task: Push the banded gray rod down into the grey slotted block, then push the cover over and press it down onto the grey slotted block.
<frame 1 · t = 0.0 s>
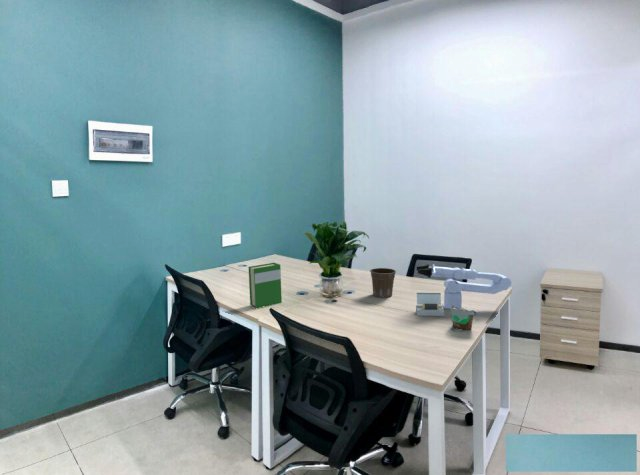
hand: (417, 269, 236), 22 cm above the table, tool horizontal, fingers open, 7 cm apart
plant pot: (382, 295, 263), on the table
grey slotted block: (429, 313, 227), on the table
cover: (428, 298, 230), point 7 cm above the table, hinge at 105.0°
food container: (459, 328, 204), on the table
banded gray rod: (430, 306, 222), point 5 cm above the table, touching grey slotted block
hardback book: (266, 304, 250), on the table
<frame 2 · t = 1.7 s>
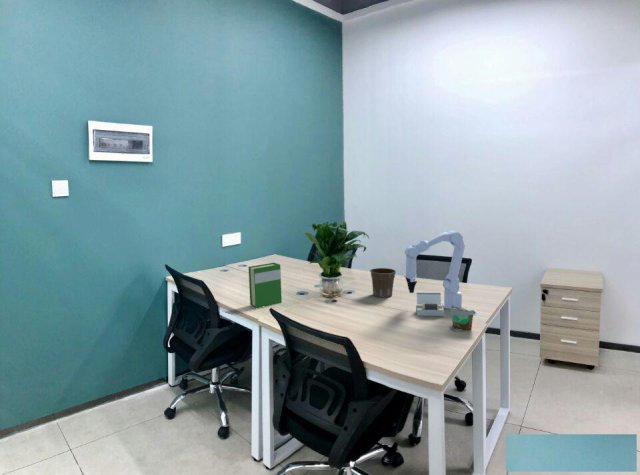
hand: (410, 291, 234), 10 cm above the table, tool pointing down, fingers open, 6 cm apart
nothing on the table moved.
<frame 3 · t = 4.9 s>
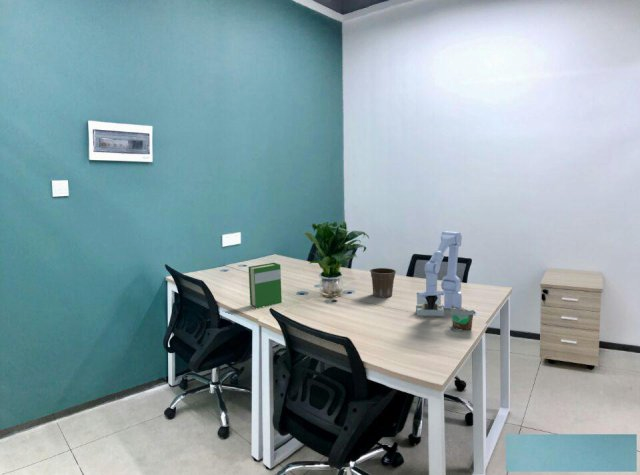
hand: (431, 309, 220), 4 cm above the table, tool pointing down, fingers closed, pressing on banded gray rod
banded gray rod: (430, 306, 223), point 5 cm above the table, tilted 16°, touching grey slotted block, gripper
everything else where it was.
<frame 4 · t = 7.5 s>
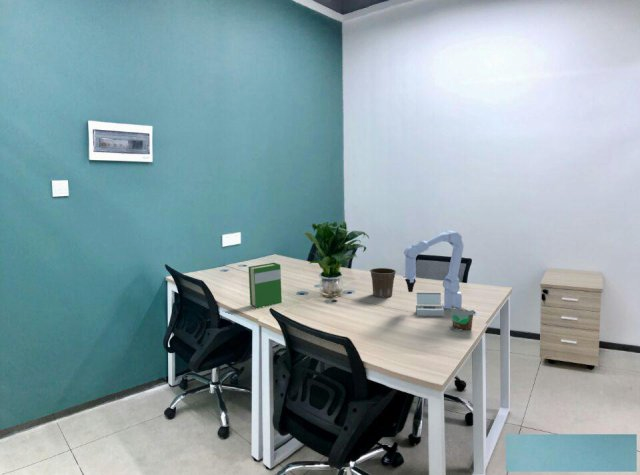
hand: (410, 291, 233), 10 cm above the table, tool pointing down, fingers closed
banded gray rod: (429, 309, 227), point 2 cm above the table, tilted 104°, touching grey slotted block
everything else where it was.
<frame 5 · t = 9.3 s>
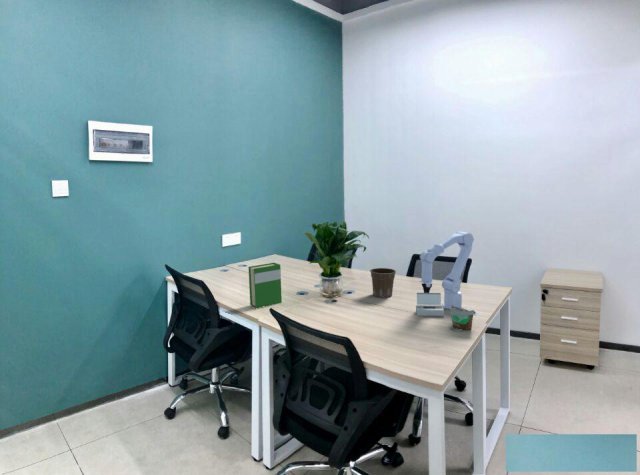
hand: (426, 296, 231), 8 cm above the table, tool pointing down, fingers closed, pressing on cover
cover: (428, 298, 230), point 7 cm above the table, hinge at 104.1°, touching gripper
everything else where it was.
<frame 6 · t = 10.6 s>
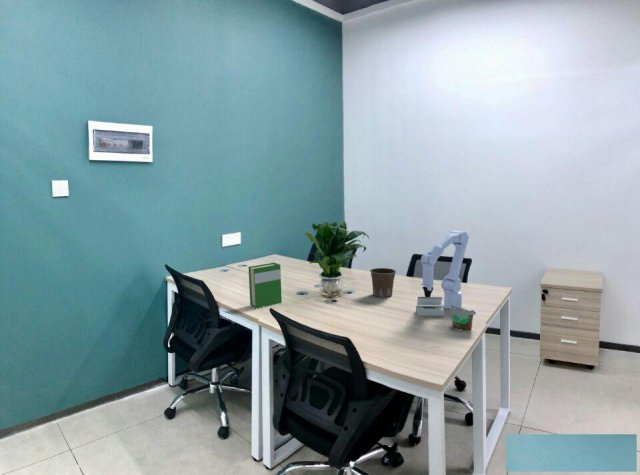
hand: (427, 299, 227), 7 cm above the table, tool pointing down, fingers closed, pressing on cover
cover: (429, 300, 227), point 7 cm above the table, hinge at 54.0°, touching gripper
everything else where it was.
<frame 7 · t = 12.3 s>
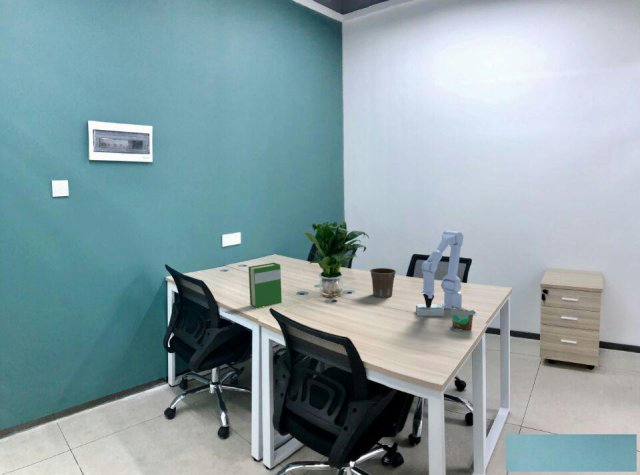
hand: (428, 307, 224), 4 cm above the table, tool pointing down, fingers closed, pressing on cover
cover: (429, 306, 226), point 4 cm above the table, hinge at 0.0°, touching gripper
everything else where it was.
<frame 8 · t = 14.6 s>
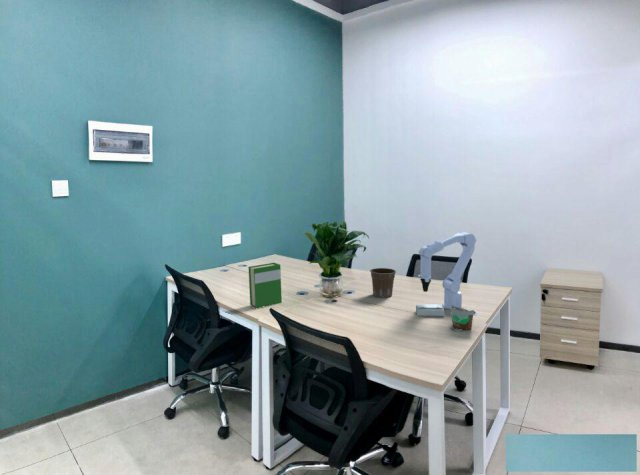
hand: (425, 291, 233), 10 cm above the table, tool pointing down, fingers closed
cover: (429, 306, 226), point 4 cm above the table, hinge at 0.0°
everything else where it was.
at the end: banded gray rod inside the target area on the grey slotted block (0.7 cm from its centre), point 1.8 cm above the grey slotted block's base; cover at +0° (first picture: +105°) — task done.
